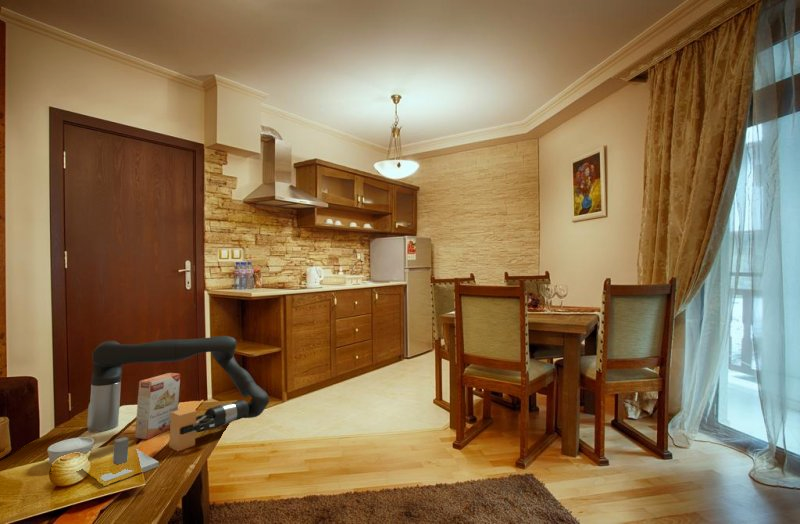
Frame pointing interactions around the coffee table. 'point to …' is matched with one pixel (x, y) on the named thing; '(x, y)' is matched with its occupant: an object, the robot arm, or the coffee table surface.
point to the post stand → (122, 456)
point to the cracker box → (156, 404)
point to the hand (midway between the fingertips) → (175, 429)
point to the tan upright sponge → (179, 421)
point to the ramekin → (70, 447)
